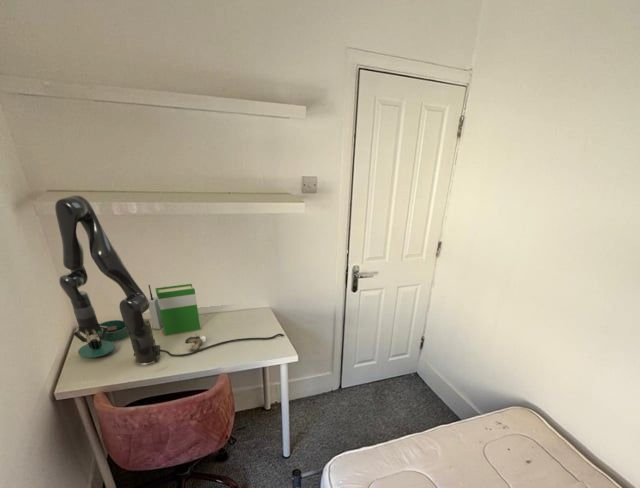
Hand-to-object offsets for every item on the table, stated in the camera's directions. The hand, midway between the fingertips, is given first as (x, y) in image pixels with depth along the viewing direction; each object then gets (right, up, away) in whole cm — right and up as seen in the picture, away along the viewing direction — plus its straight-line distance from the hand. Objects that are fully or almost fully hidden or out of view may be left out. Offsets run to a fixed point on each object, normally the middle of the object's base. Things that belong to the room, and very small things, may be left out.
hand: (96, 347), depth 183 cm
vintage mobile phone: (+14, +11, +30) cm, 35 cm away
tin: (-3, +6, +18) cm, 20 cm away
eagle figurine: (+41, 0, +16) cm, 44 cm away
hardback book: (+27, +10, +30) cm, 42 cm away
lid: (0, -1, +1) cm, 1 cm away
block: (-3, +7, +18) cm, 19 cm away
